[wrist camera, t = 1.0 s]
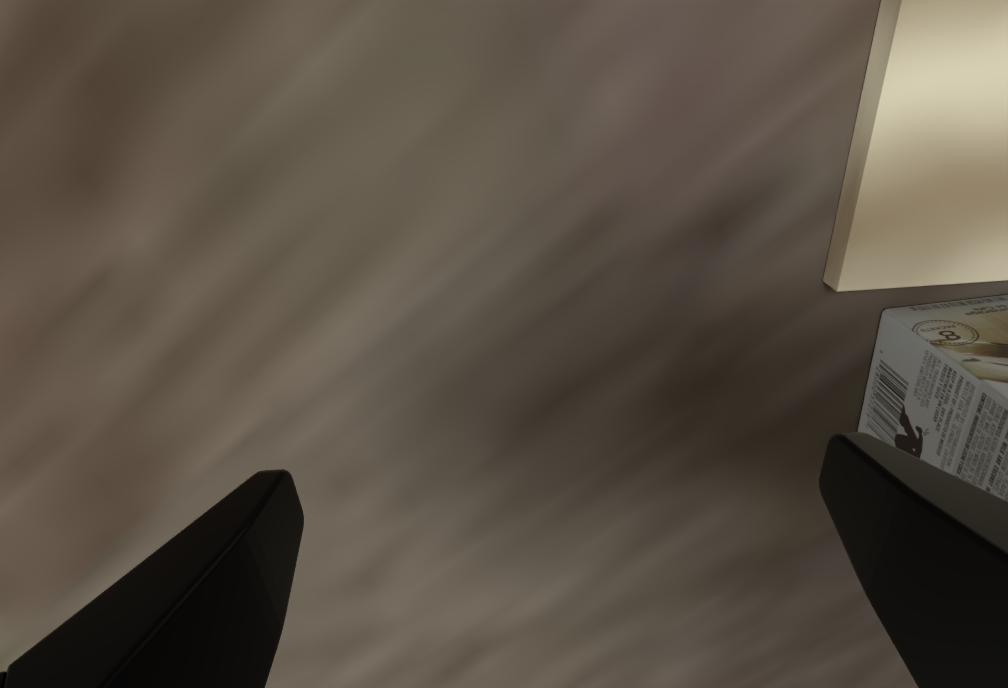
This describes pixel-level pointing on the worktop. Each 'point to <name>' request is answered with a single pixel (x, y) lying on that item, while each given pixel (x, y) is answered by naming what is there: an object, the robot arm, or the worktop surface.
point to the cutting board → (928, 152)
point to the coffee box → (944, 387)
